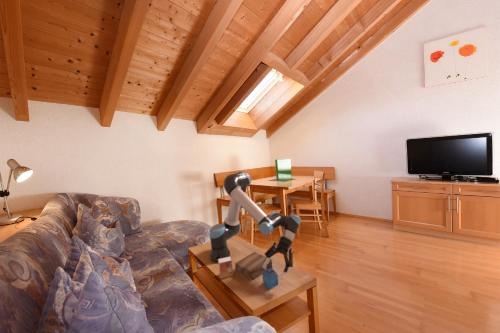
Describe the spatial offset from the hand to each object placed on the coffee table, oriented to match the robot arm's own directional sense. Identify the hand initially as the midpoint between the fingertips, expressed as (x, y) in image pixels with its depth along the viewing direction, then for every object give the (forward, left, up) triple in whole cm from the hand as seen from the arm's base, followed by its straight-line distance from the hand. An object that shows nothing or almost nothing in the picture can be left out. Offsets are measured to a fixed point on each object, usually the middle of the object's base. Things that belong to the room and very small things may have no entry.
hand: (272, 272), depth 127 cm
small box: (-29, -13, -7) cm, 33 cm away
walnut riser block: (-20, +3, -7) cm, 21 cm away
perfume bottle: (-1, -1, -7) cm, 7 cm away
